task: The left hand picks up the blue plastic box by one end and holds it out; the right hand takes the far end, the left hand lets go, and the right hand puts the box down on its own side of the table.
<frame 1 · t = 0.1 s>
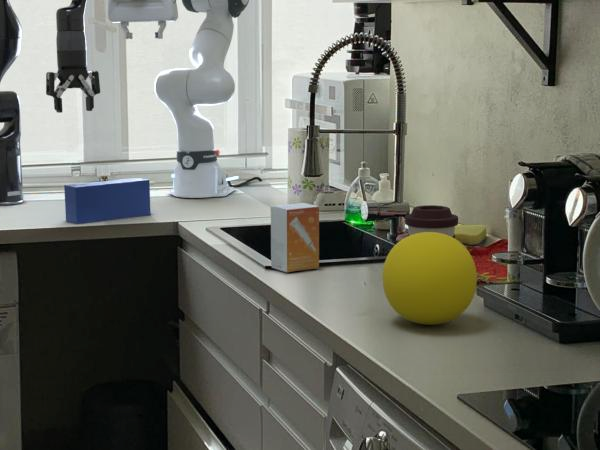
left hand: (74, 111, 273), 29 cm above the worktop, tool pointing down, fingers open, 8 cm apart
right hand: (143, 39, 289), 48 cm above the worktop, tool pointing down, fingers open, 8 cm apart
box: (108, 218, 283), on the worktop
toy: (428, 323, 172), on the worktop
small box: (295, 269, 215), on the worktop
coffee cup: (430, 287, 198), on the worktop
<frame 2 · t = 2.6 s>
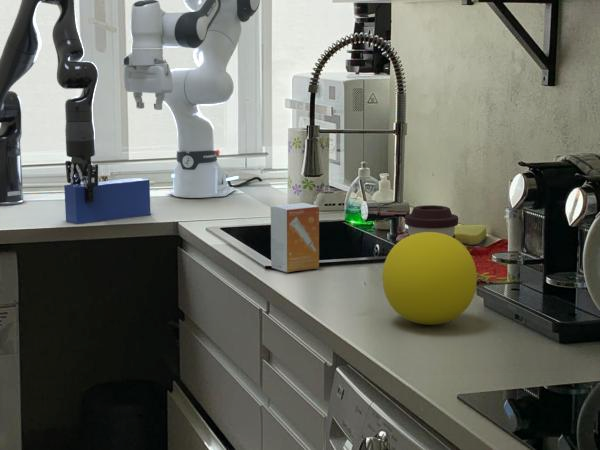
left hand: (83, 201, 278), 5 cm above the worktop, tool pointing down, fingers closed on box, 6 cm apart
right hand: (149, 109, 293), 28 cm above the worktop, tool pointing down, fingers open, 8 cm apart
box: (108, 217, 283), on the worktop, touching left hand
everything else where it was.
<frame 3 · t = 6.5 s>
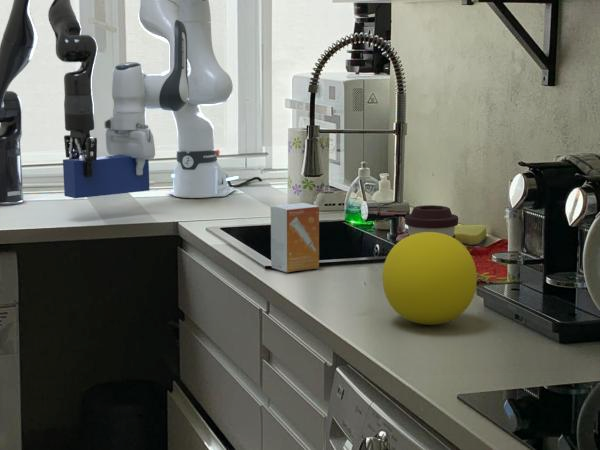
left hand: (81, 175, 276), 12 cm above the worktop, tool pointing down, fingers closed on box, 6 cm apart
right hand: (131, 173, 286), 11 cm above the worktop, tool pointing down, fingers closed on box, 6 cm apart
box: (107, 193, 282), point 7 cm above the worktop, touching left hand, right hand
everything else where it was.
when the left hand's fingers open (12 cm above the worktop, at t = 7.7 s): box stays where it is, held by the right hand.
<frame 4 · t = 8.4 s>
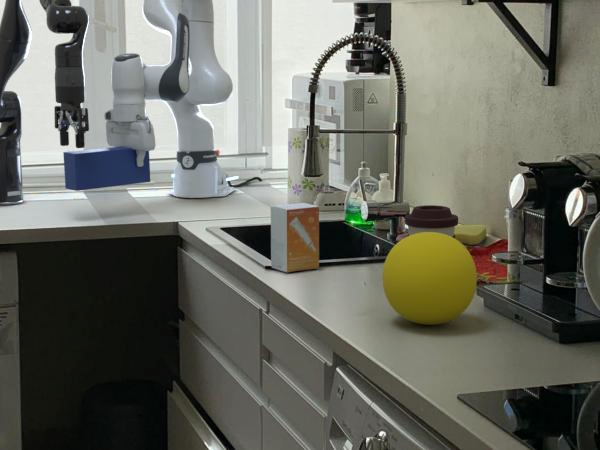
left hand: (72, 146, 274), 20 cm above the worktop, tool pointing down, fingers open, 8 cm apart
right hand: (132, 165, 286), 14 cm above the worktop, tool pointing down, fingers closed on box, 6 cm apart
box: (108, 185, 282), point 9 cm above the worktop, touching right hand
everything else where it was.
when the right hand's fingers open (6 cm above the worktop, at t = 16.7 s): box stays where it is, on the worktop.
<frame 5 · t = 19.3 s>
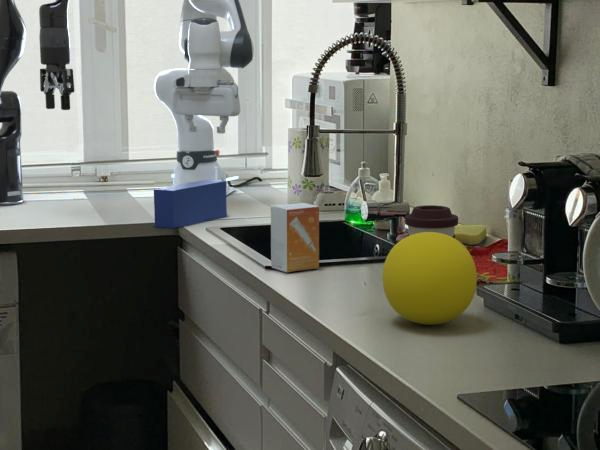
left hand: (58, 109, 270), 30 cm above the worktop, tool pointing down, fingers open, 8 cm apart
right hand: (206, 132, 278), 23 cm above the worktop, tool pointing down, fingers open, 8 cm apart
box: (191, 221, 276), on the worktop
everything else where it was.
at the end: box inside the target area (7.2 cm from its centre), on the worktop; the left hand is holding nothing; the right hand is holding nothing; box at rest at the end (0.0 cm/s) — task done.
